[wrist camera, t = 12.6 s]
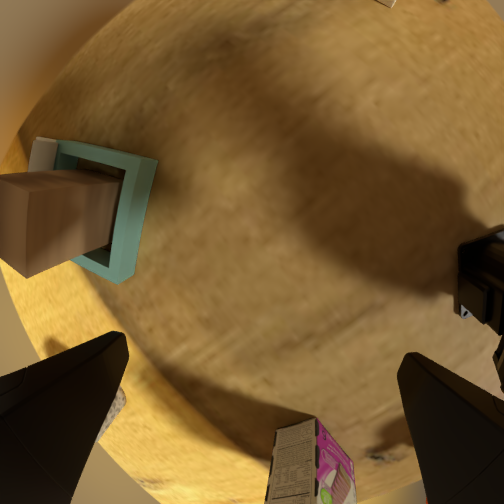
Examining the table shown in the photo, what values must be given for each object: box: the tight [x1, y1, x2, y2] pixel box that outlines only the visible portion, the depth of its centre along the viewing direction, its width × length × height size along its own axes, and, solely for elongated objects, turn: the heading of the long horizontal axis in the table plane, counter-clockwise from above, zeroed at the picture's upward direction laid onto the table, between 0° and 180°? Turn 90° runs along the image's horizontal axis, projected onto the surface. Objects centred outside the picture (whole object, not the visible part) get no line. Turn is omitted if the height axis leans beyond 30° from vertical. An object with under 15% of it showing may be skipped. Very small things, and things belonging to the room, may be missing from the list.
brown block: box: [0, 169, 124, 279], centre depth 16 cm, size 5×5×10 cm
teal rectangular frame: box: [28, 137, 158, 285], centre depth 19 cm, size 16×10×5 cm, turn 72°
